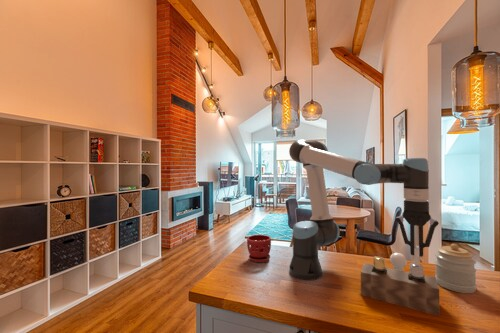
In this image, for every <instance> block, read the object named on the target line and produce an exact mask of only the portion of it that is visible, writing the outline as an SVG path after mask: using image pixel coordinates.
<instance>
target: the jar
mask: <svg viewBox="0 0 500 333" xmlns="http://www.w3.org/2000/svg"><path fill="white" fill-rule="evenodd" d="M436 251H437V252H435V253H434V256H435V258H436V260H435V261H434V263H435V275H434V277H436V280H437V283H438V286H441V287H442V288H445V289H446V290H449V291H452V292H457V293H461V294H473V293H476V290H477V284H476V282H477V278H476V275H477V274H476V272H477V269H476V267H475V265H476V264H477V261H476V259H474V258H473V257H474V254H473V253H472V252H469V251H468V250H467V249H465V248H461V247H459V244H457V243H451V244H450V245H443V246H441V247H438V248H437V250H436Z"/></svg>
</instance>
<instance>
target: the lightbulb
mask: <svg viewBox="0 0 500 333" xmlns="http://www.w3.org/2000/svg"><path fill="white" fill-rule="evenodd" d="M389 261H390V263H391V265H392V266H393V269H396V270H401V271H404V268H405V266H406V265H407V262H408V261H407V258H406V257H405V255H404V254H403V253H400V252H393V253H392V254H391V255H390V257H389Z"/></svg>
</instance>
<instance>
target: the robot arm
mask: <svg viewBox="0 0 500 333" xmlns="http://www.w3.org/2000/svg"><path fill="white" fill-rule="evenodd" d="M288 153H289V156H290V158H291V159H292V160H293V162H297V163H299V164H302V168H303V169H304V170H305V171H306V178H307V179H306V180H307V185H308V193H309V201H310V208H311V217H310V218H309V220H304V221H302V220H301V221H299V222H296V223H295V224H293V227H292V232H291V233H292V257H291V260H290V263H289V267H288V268H289V274H290V275H291V276H292V277H295V278H297V279H299V280H304V281H310V280H312V281H313V280H318V279H321V277H322V276H323V269H322V266H321V262H320V259H319V248H322V247H326V246H328V245H332V244H333V243H335V242H336V241H338V239H339V237H340V235H341V234H340V232H341V230H340V227H339V225H338V224H337V222H336V221H335V220H334V216H332V215H331V213H330V210H329V209H330V208H329V200H328V195H327V194H328V193H327V189H326V188H327V187H326V180H325V172H324V169H325V170H326V171H330V172H333V173H336V174H339V175H341V176H345V177H347V178H350V179H353V180H356V181H357V183H359V184H361V185H367V186H370V185H377V184H403V198H404V200H403V212H402V215H399V216H396V217H395V220H396V222H397V223H398V225H399V229H400V230H401V235H402V238H403V242H404V244H405V245H408V246H409V247H410V249H409V250H410V251H409V253H410V255H411V256H413V263H414V265H416V266H420V261H421V260H420V257H421V258H422V257H423V256H424V248H429V247H430V246H431V242H432V240H433V236H434V232H435V229H436V228H437V226H438V225H439V221H438V220H437V219H434V218H432V215H430V202H429V200H430V194H429V190H430V189H429V188H430V186H429V181H430V180H429V179H430V178H429V176H430V175H429V172H430V170H429V163H428V162H429V161H428V159H427V158H425V157H413V158H412V157H409V158H408V157H407V158H404V159H403V161H402V163H370V162H367V161H365V160H364V161H363V160H359V159H356V158H351V157H349V156H346V155H345V156H344V155H341V154H338V153H334V152H330V151H329V148H328V147H327V146H326V144H325V143H324V142H321V141H318V140H306V139H297V140H295V141H294V142H293V143H291V145H290V147H289V152H288ZM404 219H405V221H406V222H407V223H408V225H409V238H408V236H407V231H406V229H405V226H404ZM428 222H429V227H428V228H429V229H428V230H427V234H426V238H425V241H424V226H425V225H426V224H427V223H428ZM415 226H417V228H418V229H417V230H418V245H415Z"/></svg>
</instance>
